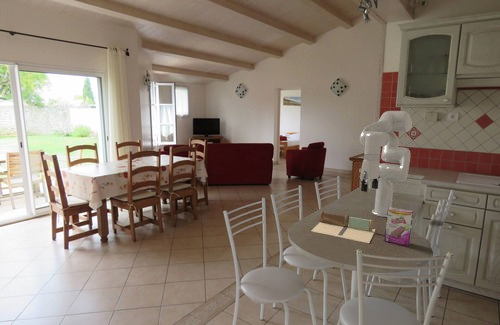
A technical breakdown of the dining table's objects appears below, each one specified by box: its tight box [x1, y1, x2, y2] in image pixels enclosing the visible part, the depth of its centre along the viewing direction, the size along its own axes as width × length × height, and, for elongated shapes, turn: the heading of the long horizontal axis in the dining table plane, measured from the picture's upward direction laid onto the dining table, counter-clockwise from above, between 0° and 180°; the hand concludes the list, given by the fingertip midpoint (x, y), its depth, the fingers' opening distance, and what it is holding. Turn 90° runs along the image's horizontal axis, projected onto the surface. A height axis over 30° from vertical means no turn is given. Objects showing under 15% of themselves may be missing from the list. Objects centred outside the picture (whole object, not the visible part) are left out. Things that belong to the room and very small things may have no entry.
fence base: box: [319, 210, 350, 227], centre depth 171 cm, size 2×16×7 cm, turn 60°
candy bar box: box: [384, 207, 414, 247], centre depth 148 cm, size 11×5×16 cm, turn 59°
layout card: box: [310, 221, 376, 244], centre depth 163 cm, size 20×29×1 cm
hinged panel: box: [348, 216, 374, 231], centre depth 164 cm, size 2×12×6 cm, turn 60°
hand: (369, 189), depth 159 cm, fingers open, 9 cm apart
